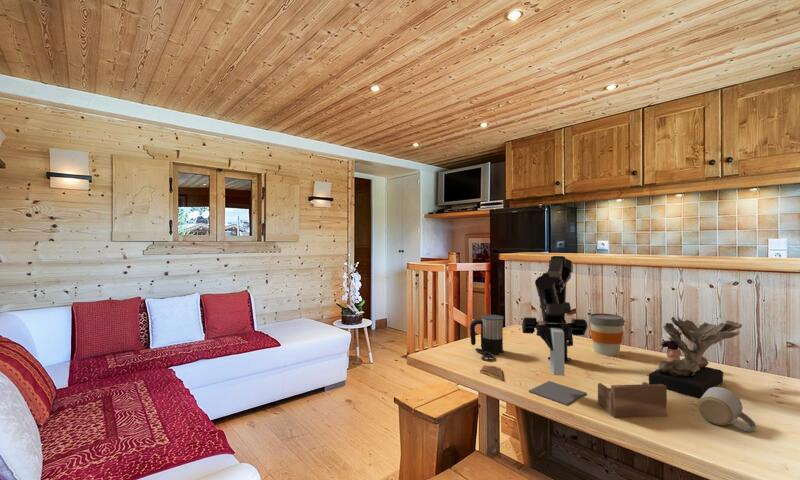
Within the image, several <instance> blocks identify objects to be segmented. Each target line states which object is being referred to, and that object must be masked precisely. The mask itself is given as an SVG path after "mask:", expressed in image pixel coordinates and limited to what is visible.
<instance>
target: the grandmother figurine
mask: <svg viewBox="0 0 800 480" xmlns="http://www.w3.org/2000/svg"><path fill="white" fill-rule="evenodd" d="M666 338H668V339H669V340H665V341H664V342H662V343H661V345H660V347H659V350H660V351H663V350H664V348H666V361H673V360H681V355H680V354H681V353H680V350H681V352H682V354H684V352H683V350H682V348H680V346H679V345H678V344H677V343H676V342H675V341H674V340H673V339H672V338H671V336H670V335H669V334H668V333H666ZM679 349H680V350H679Z"/></svg>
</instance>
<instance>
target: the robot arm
mask: <svg viewBox="0 0 800 480" xmlns="http://www.w3.org/2000/svg"><path fill="white" fill-rule="evenodd" d="M572 273H574V264H573V262H572V260H570V259H568V258H567V257H566V256H564V255H553V256H550V259H549V260H548V269H547V271H546V272H543V273H542V274H541V275H540V276H538V277H537V278H536V279H535V281H534V283H535V284H534V285H535V289H536V292H537V296H538V297H539V303H540V304H539V305H540V311H541V318H542V320H537V317H531V316H530V317H527V316H525V317H524V318H523V319H522V324H521V330H522V333H523V334H530V335H531V334H534V333H535V330H536V336H537V337H540V338H541V339H542V341H543V342H544V343H545V344H546V345H547V348H548V349H549V351H550V350H551V351H553V345H552V341H551V338H550V328H560V329H561V330H562V331H563V332H564V364H565V363H566V362H569V361H571V360H572V358H571V357H568V347H573V346H574V337H573V336H584V335H585V334H586V331H587V329H588V322H587V320H586V319H585V318H571V321H570V322H567V321H566V314H568V315H569V314H570V313H571V311H572V309H571V304H570V302H567V298H566V297H567V283H568V282H569V281H570V279H571V278H572ZM547 360H550V356H548V357H547Z"/></svg>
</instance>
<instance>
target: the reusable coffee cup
mask: <svg viewBox="0 0 800 480" xmlns="http://www.w3.org/2000/svg"><path fill="white" fill-rule="evenodd" d="M588 319H589V320H588V323H590V326H589V327H590V328H589V332H590V339H591V341H592V345H593V351H594V353H596V354H598V355H601V356H606V357H616V356H619V355H620V350H621V344H622V342H623V338H624V337H623V336H624V331H623V329H624V328H623V327H624V326H625V321H624V317H623V316H621V315H619V314H612V313H604V312H603V313H601V312H600V313H598V312H597V313H590V314H589V318H588Z"/></svg>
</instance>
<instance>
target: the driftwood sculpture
mask: <svg viewBox="0 0 800 480" xmlns="http://www.w3.org/2000/svg"><path fill="white" fill-rule="evenodd" d="M670 320H671V322H666V323H665V324H664V325H663V326H662V328H663V329H664V330H665V332H666V334H669V335H670V336H671V338H672V339H673V340H674V341H675V342H676V343H677V344H678V345H679V346H680V348H682V350H683V352H684V353H683V352H682V353H683V356H684V358H682V359H680V360H673V361H667V360H659V362H658V368H657V369H655V370H653V371H652V372H650V373H648V384H663V385H665V386H667V391H670V392H674V393H678V394H681V395H684V396H687V397H690V398H694V399H698V400H700V398H701V397H702V396H703V394H704V393H705V392H706V391H707V390H708V389H709V388H712V387H719V386H720V385H721V384H723V382H724V371H723V370H721V369H719V368H718V369H717V368H712V367H708V365H709V361H708V359H707V358H706V357H704V356H703V355H704V353H705V352H706V351H707V350H708V349H709V348H710V347H711V346H712V345H715V344H718V343H719V342H722V341H723V340H726V339H732V338H735V337H736V336H739V334H741V332H740V331H736V330H738V329H741V328H742V327H743V324H742V323H738V322H736V321H731V320H726V321H725V323H723V322H721V323H719V324H717V325H716V324H711V323H709V322H705V321H704V322H703V323H702V324H699V326H698V327H697V325H696V324H695V322H694V321H691V320H688V319H685V320H681V319H680V318H679V317H678V316H677V317H676V318H675V317H674V316H672V317H670ZM674 325H675V326H676V327H674ZM678 328H679V330H678ZM735 331H736V332H735ZM682 335H683V336H684V337H685V338H686V339H687V340H688V341H689V342H690V344H691V346H692V348H691V349H690V348H689V346H688V344H686V342H685V341H683V340H682V337H681V336H682ZM680 348H679V349H680ZM682 350H681V351H682ZM719 384H720V385H719ZM718 385H719V386H718Z"/></svg>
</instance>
